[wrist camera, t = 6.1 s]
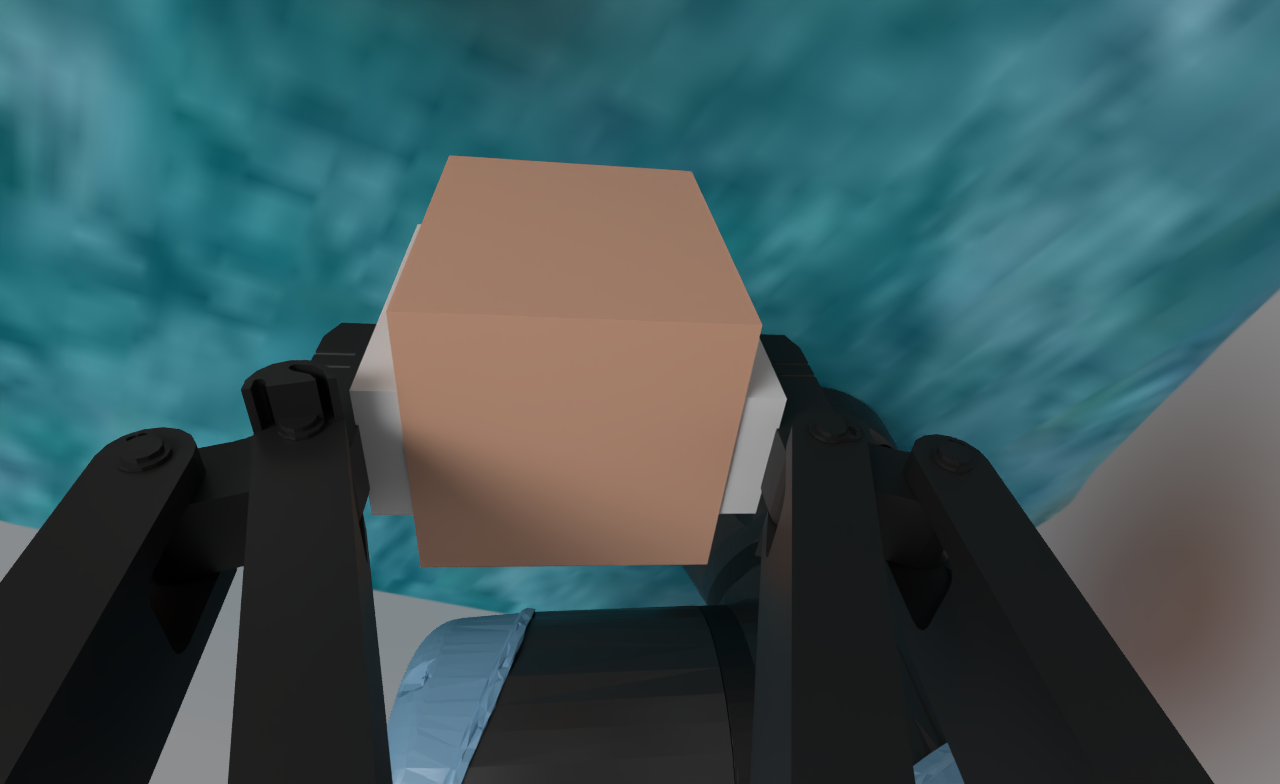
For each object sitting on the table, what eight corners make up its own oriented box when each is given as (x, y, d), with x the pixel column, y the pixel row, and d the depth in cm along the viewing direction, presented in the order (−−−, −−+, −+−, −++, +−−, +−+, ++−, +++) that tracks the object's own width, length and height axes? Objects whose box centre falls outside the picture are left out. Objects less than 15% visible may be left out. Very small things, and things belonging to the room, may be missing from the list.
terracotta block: (664, 366, 19) (707, 564, 14) (462, 361, 19) (420, 567, 13) (691, 171, 16) (762, 325, 10) (449, 155, 15) (385, 311, 10)
